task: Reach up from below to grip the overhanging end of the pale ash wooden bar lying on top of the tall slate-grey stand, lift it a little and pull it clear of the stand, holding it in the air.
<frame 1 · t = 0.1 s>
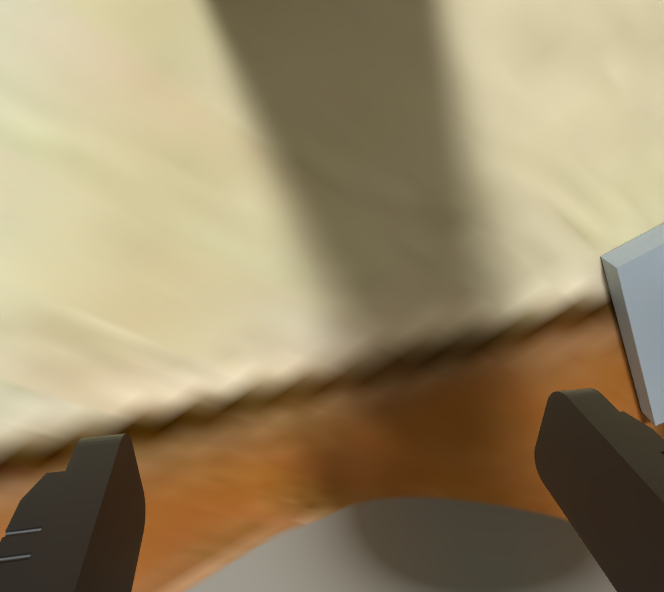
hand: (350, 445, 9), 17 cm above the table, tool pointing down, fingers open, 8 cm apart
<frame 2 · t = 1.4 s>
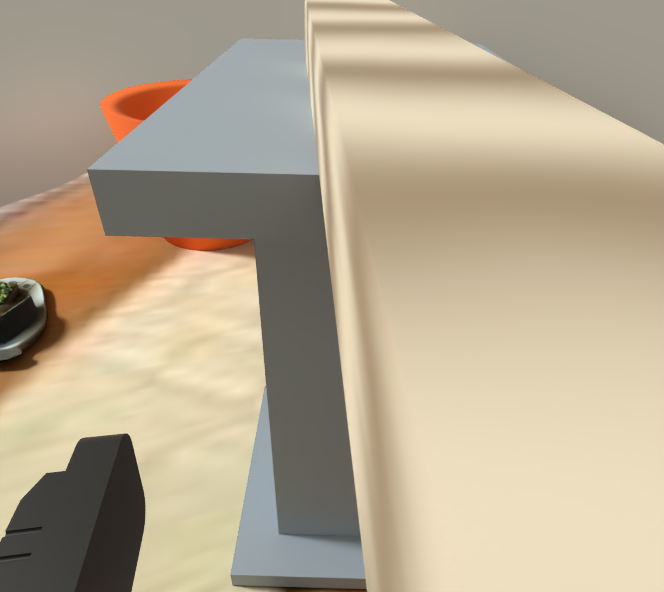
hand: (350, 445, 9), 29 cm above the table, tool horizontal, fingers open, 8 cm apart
ash bar: (374, 132, 16), point 32 cm above the table, touching stand
flowerpot: (213, 227, 80), on the table
stand: (345, 487, 41), on the table
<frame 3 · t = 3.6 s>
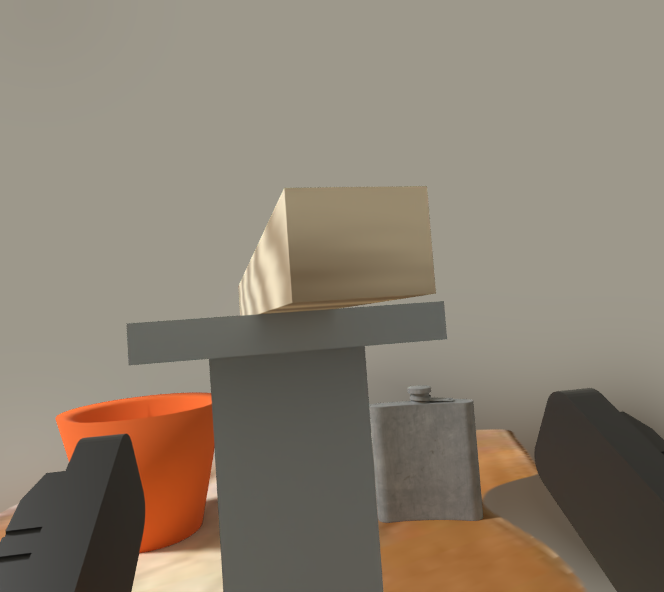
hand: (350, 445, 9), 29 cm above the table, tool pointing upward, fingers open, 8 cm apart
ash bar: (286, 313, 29), point 32 cm above the table, touching stand
flowerpot: (150, 531, 79), on the table
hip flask: (429, 517, 76), on the table
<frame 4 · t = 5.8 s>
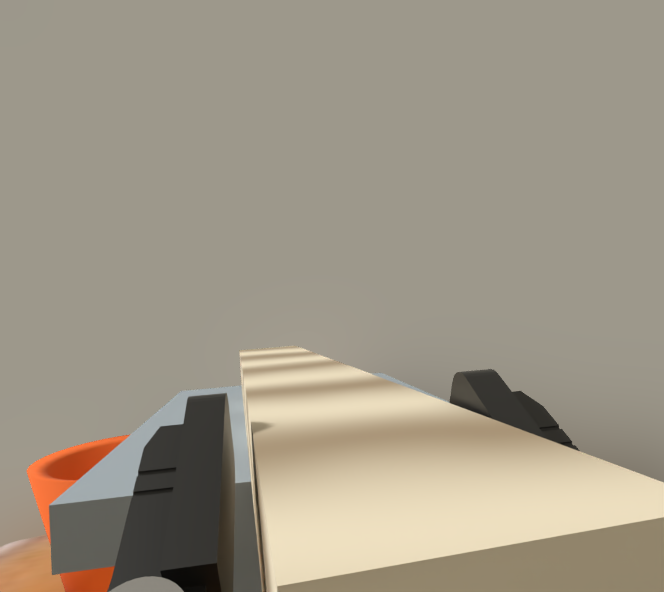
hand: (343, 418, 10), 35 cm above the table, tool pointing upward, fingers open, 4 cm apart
ash bar: (298, 443, 20), point 32 cm above the table, touching gripper
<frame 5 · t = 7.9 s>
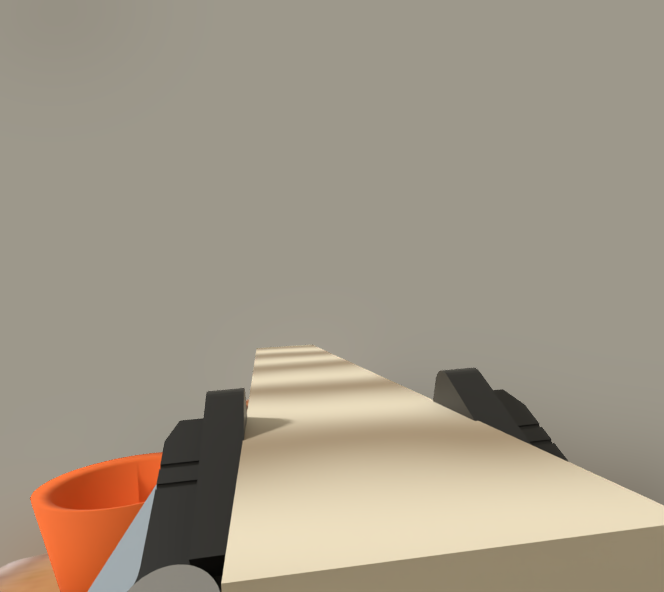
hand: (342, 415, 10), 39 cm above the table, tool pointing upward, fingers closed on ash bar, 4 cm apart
ash bar: (307, 442, 20), point 36 cm above the table, touching gripper
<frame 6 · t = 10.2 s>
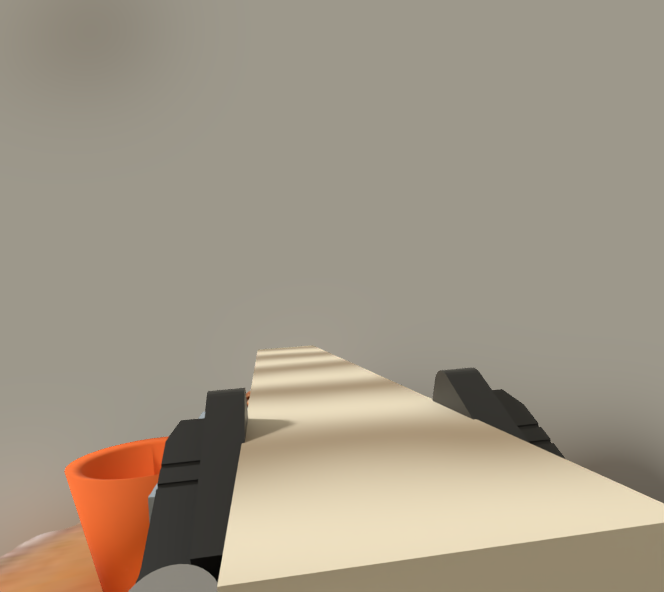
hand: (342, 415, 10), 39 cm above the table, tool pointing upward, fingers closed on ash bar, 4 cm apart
ash bar: (309, 443, 20), point 36 cm above the table, touching gripper
flowerpot: (157, 577, 81), on the table
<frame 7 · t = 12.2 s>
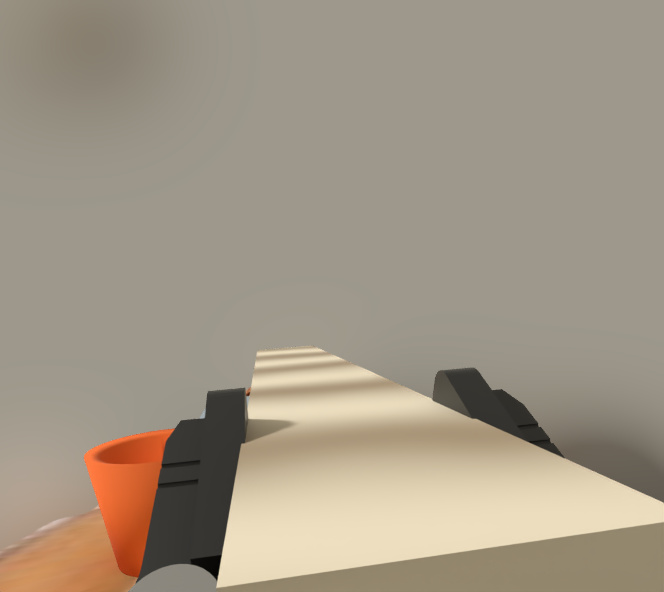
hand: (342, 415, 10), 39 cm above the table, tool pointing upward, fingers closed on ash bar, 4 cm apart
ash bar: (309, 443, 20), point 36 cm above the table, touching gripper
flowerpot: (166, 554, 89), on the table
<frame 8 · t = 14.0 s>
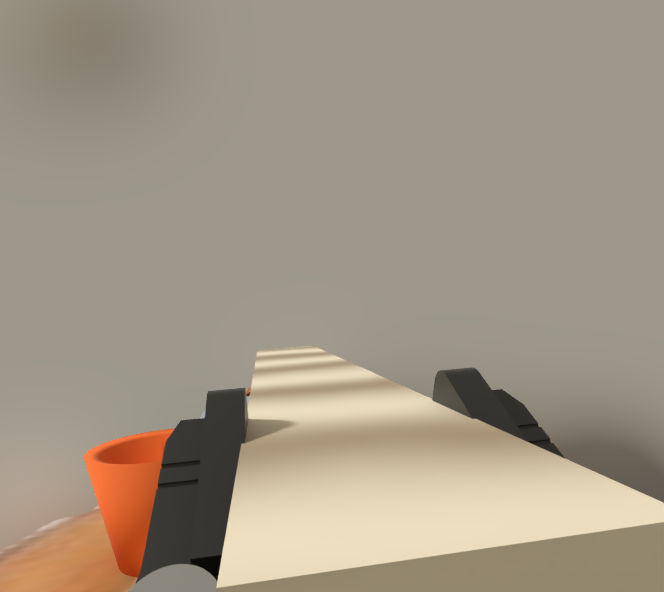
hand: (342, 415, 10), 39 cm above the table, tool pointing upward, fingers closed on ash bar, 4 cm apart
ash bar: (309, 443, 20), point 36 cm above the table, touching gripper
flowerpot: (166, 554, 89), on the table
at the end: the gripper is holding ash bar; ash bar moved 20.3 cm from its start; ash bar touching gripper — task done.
